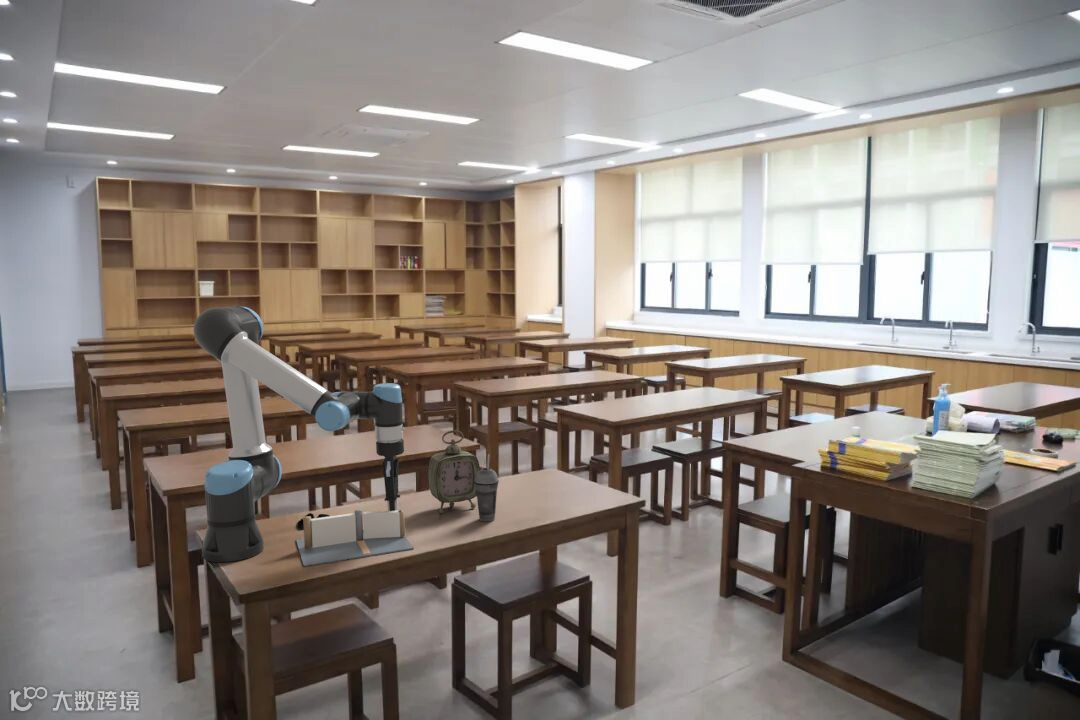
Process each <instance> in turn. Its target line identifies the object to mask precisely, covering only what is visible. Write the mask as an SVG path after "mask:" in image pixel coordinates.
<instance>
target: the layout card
mask: <svg viewBox="0 0 1080 720" xmlns="http://www.w3.org/2000/svg"><path fill="white" fill-rule="evenodd" d="M295 541H296V542H295V543H296V545H297V549H298V552H299V555H301V556H300V559H301V562H302V565H304V566H305V567H310V566H309V565H312V566H317V564H318V565H324V564H329V563H337V562H343V561H348V560H347V559H349V560H354V559H353V558H356V559H360V557H362V558H369V557H373V556H380V555H386V554H392V553H399V552H404V551H411V550H414V547H413V545H412V544H411V543H410V541H409V540H408V539H407V537H406V535H405V536H403V537H386V538H369V539H364V529H363V540H361V541H357V540H356V541H350V542H344V543H337V544H330V545H324V546H317V547H311V548H305V546H304V537H302V538H297V539H295ZM342 560H343V561H342ZM336 561H337V562H336ZM304 566H303V567H304Z"/></svg>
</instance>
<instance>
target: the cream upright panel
mask: <svg viewBox="0 0 1080 720" xmlns="http://www.w3.org/2000/svg"><path fill="white" fill-rule="evenodd" d="M405 514H406V513H405V510H404V509H401V510H400V509H398V510H396V511H388V510H381V511H380V510H379V511H364V512H362V519H363V530H364V539H369V538H386V537H403V536H405V537H406V525H405V524H406V522H405V521H406V520H405Z"/></svg>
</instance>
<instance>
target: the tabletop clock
mask: <svg viewBox="0 0 1080 720" xmlns="http://www.w3.org/2000/svg"><path fill="white" fill-rule="evenodd" d="M453 433H454V434H455V433H457V434H460V435H461V438H460V439H459V440H455V439H451V440H450V441H446V440H445V439H444V438H445V437H446V435H448V434H449V435H450V434H453ZM463 440H464V434H463V432H462V431H459V430H448V431H446V432H445V433H444V434H443V435H442V436H441V441H442V442H443V443H444V444H445V445H446V444H447V445H448V446H446V447H445V450H444V451H443V452H439V453H436V454H433V455H432V456H431V457H430V459H429V462H428V473H427V475H428V476H427V477H428V487H429V490H430V493H431V495H432V497H434V499H436V500H437V501H439V502H440V503H441V504H440V507H439V508H438V509H437V512H438V513H439V514H443V513H444V509H443V507H444V504H449V507H450V508H454V507H455V503H459V502H460V503H461V502H464V501H468V502H469V503H470V508H471V509H475V508H476V506H477V505H476V503H474V502H473V501H472V499H474V498H476V497H477V492H476V488H475V483H474V482H475V477H476V474H477V473H478V472H479V471H480V470H481V467H480V462H479V460H478V457H477V456H476V455H474V454H473V453H470V452H468V451H466V450H462V449H461V447H460V446H459V445H458V444H459V443H460V442H462V441H463Z"/></svg>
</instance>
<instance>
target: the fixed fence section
mask: <svg viewBox="0 0 1080 720" xmlns="http://www.w3.org/2000/svg"><path fill="white" fill-rule="evenodd" d="M305 516H306V515H305ZM305 516H303V525H304V530H303V538H304V546H305V548H311V547H317V546H324V545H330V544H337V543H344V542H350V541H356V540H357V541H361V540H363V530H364V525H363V509H355V510H354V513H346V514H345V513H344V514H338V515H329V517H322V518H317V517H314V519H311V517H310V516H306V517H305Z"/></svg>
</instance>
